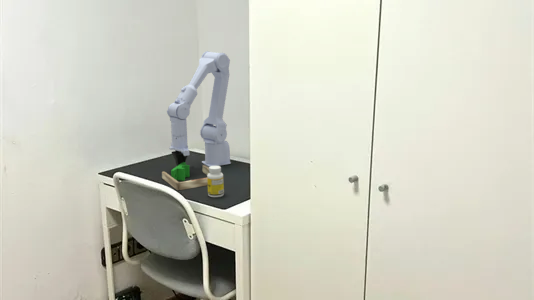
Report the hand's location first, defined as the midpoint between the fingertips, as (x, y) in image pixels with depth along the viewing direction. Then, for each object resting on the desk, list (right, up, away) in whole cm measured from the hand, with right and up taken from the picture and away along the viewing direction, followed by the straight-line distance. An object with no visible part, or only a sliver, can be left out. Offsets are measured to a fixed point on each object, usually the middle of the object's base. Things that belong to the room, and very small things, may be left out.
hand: (180, 169), depth 219 cm
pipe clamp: (+1, -3, -6) cm, 7 cm away
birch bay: (+5, -3, -8) cm, 10 cm away
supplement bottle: (+15, -8, -25) cm, 30 cm away
